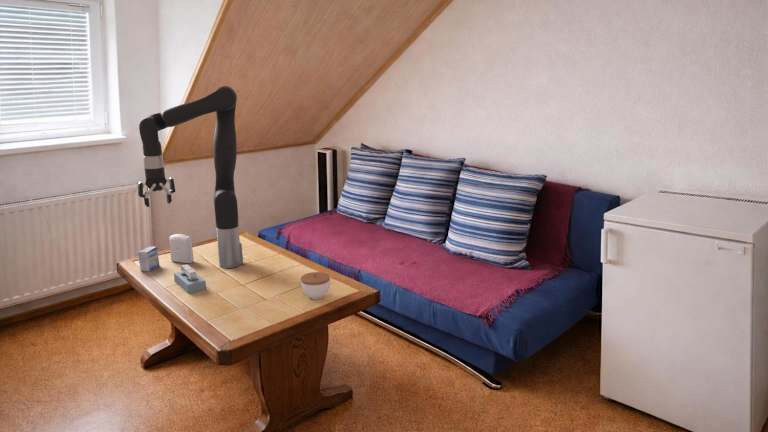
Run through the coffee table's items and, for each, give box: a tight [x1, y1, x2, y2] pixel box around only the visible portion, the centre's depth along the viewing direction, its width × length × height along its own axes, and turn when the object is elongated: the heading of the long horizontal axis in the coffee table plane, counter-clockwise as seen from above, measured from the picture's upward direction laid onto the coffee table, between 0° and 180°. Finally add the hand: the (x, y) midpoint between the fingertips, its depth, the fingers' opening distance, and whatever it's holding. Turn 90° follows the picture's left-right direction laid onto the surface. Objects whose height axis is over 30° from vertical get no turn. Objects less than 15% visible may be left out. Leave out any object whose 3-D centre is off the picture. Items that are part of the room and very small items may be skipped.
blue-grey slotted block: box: [173, 270, 207, 294], centre depth 248 cm, size 7×16×4 cm, turn 36°
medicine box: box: [137, 246, 160, 273], centre depth 266 cm, size 8×4×9 cm, turn 168°
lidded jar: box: [300, 271, 331, 300], centre depth 236 cm, size 11×11×9 cm
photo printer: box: [168, 233, 195, 264], centre depth 274 cm, size 10×4×12 cm, turn 69°
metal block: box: [180, 263, 197, 282], centre depth 248 cm, size 2×10×7 cm, turn 36°
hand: (158, 204), depth 259 cm, fingers open, 8 cm apart
